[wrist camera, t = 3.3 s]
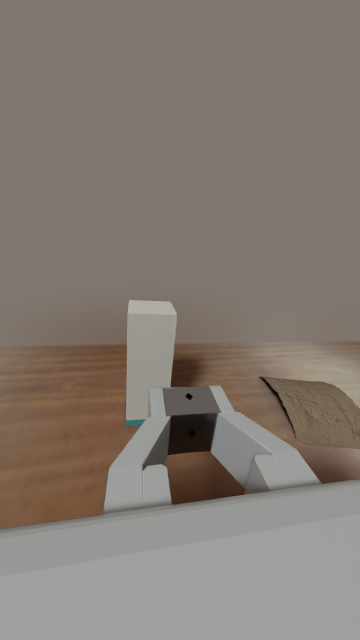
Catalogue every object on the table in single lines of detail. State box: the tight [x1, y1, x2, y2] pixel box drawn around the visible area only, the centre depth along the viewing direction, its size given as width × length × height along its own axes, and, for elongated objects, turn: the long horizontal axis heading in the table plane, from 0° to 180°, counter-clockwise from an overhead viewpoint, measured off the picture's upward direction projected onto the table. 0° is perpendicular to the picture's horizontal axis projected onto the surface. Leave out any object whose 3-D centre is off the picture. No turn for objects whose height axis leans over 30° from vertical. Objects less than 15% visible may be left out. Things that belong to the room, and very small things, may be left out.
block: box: [126, 300, 177, 426], centre depth 25 cm, size 4×4×13 cm
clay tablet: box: [262, 377, 360, 449], centre depth 30 cm, size 15×10×3 cm
